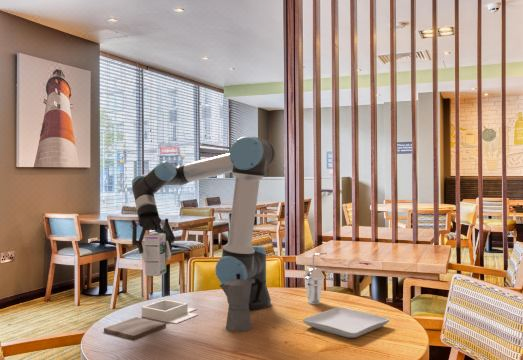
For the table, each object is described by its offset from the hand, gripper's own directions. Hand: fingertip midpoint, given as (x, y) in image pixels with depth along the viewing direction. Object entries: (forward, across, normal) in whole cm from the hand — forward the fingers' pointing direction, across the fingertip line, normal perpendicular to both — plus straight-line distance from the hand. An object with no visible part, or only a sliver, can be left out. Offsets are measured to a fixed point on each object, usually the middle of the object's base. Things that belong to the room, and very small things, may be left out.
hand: (157, 258), depth 166 cm
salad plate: (+42, -53, +12) cm, 69 cm away
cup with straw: (+21, -60, -10) cm, 64 cm away
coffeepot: (+30, -23, 0) cm, 38 cm away
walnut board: (+20, +10, -10) cm, 25 cm away
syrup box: (+2, 0, -7) cm, 7 cm away
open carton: (+13, -7, -18) cm, 23 cm away
